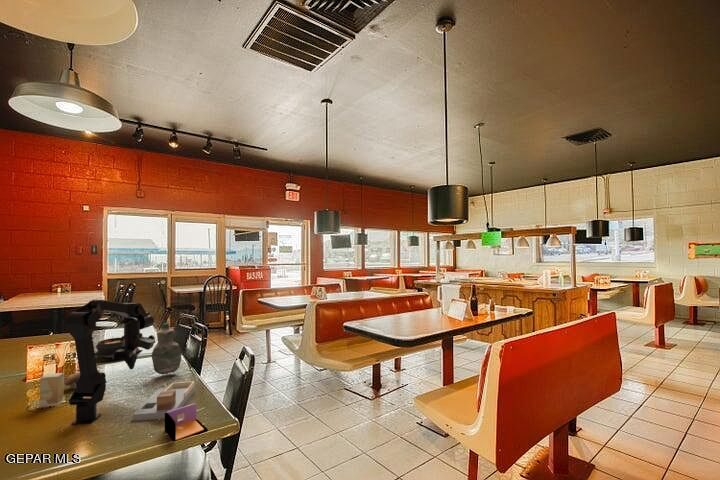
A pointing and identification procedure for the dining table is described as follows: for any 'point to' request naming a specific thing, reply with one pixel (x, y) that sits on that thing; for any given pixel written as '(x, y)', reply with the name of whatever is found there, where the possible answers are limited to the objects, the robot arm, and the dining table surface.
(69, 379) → the mushroom
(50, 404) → the skincare box
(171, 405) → the block
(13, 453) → the dining table surface
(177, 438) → the toy room diorama
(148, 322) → the robot arm
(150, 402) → the deck
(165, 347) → the detergent
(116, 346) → the casserole
